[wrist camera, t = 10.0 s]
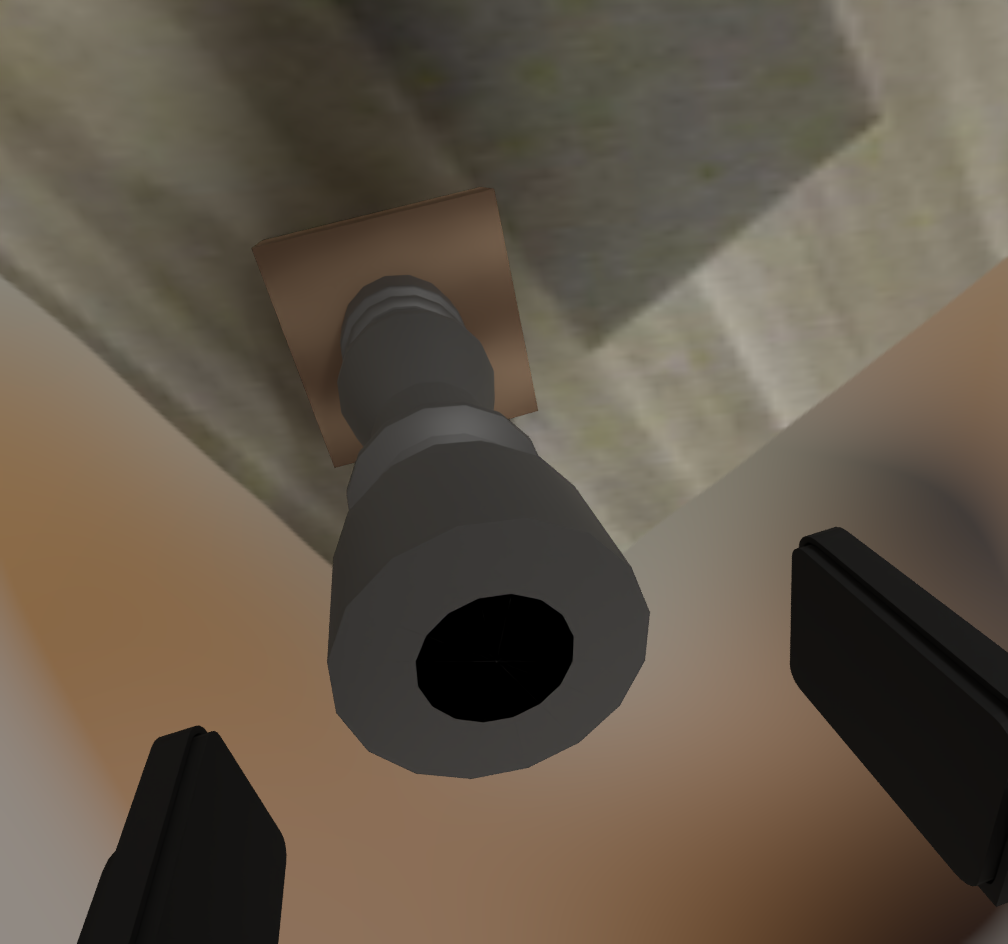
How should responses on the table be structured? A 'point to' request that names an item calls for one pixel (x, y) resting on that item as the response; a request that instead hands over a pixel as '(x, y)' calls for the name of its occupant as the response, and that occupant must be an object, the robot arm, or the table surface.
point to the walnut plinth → (387, 252)
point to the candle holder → (464, 560)
